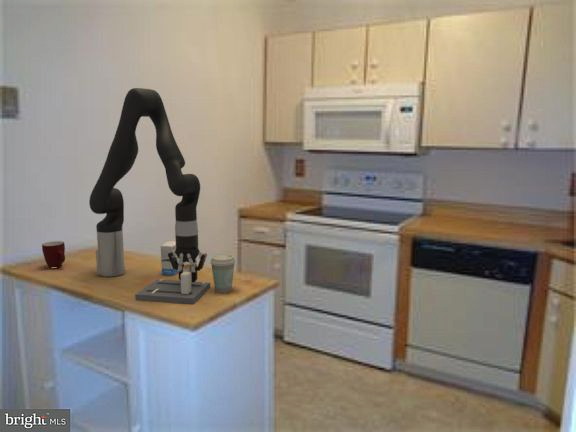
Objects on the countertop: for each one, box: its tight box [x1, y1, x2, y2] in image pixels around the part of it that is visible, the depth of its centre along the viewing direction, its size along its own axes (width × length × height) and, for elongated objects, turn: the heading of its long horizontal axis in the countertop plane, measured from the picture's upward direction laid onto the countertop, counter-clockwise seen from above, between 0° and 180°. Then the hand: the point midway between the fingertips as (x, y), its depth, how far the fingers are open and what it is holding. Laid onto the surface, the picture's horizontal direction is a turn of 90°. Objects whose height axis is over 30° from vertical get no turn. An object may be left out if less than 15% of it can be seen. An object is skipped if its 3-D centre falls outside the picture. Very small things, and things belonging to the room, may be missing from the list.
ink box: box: [160, 240, 179, 276], centre depth 174 cm, size 9×5×12 cm, turn 168°
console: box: [134, 278, 211, 305], centre depth 151 cm, size 20×16×2 cm
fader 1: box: [183, 263, 193, 284], centre depth 153 cm, size 2×3×7 cm
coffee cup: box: [209, 253, 236, 294], centre depth 154 cm, size 9×8×12 cm
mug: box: [41, 240, 66, 268], centre depth 179 cm, size 10×8×10 cm
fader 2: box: [181, 272, 191, 294], centre depth 145 cm, size 2×3×7 cm
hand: (188, 281), depth 154 cm, fingers open, 3 cm apart
